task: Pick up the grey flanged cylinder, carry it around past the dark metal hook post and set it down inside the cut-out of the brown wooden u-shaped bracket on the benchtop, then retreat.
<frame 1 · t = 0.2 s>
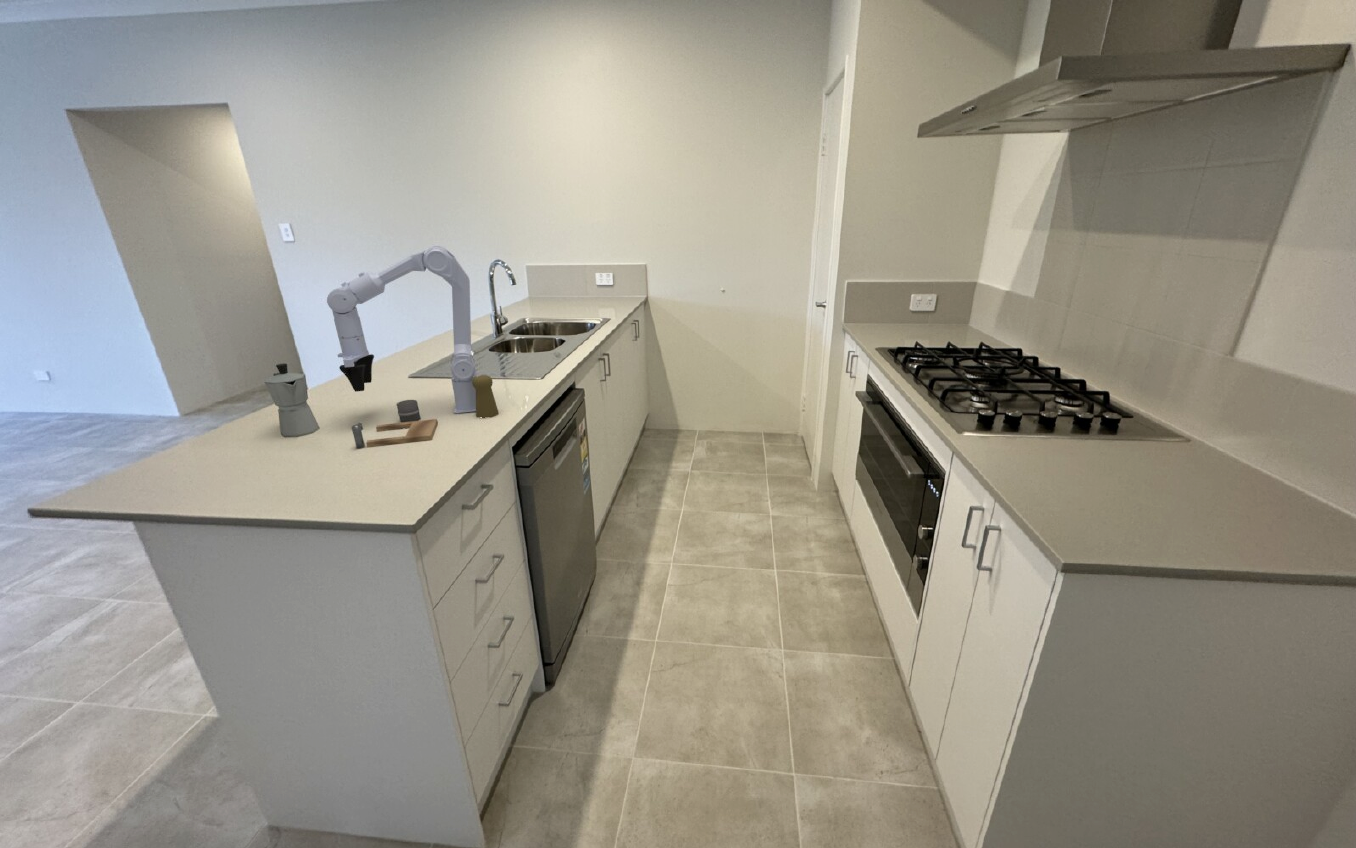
hand: (363, 386, 146), 10 cm above the worktop, tool pointing down, fingers open, 7 cm apart
coffee maker: (299, 430, 144), on the worktop
grey flanged cylinder: (410, 420, 150), on the worktop
hook: (360, 447, 133), on the worktop
olive pawn: (487, 415, 153), on the worktop
brown wooden u-shaped bracket: (407, 434, 140), on the worktop
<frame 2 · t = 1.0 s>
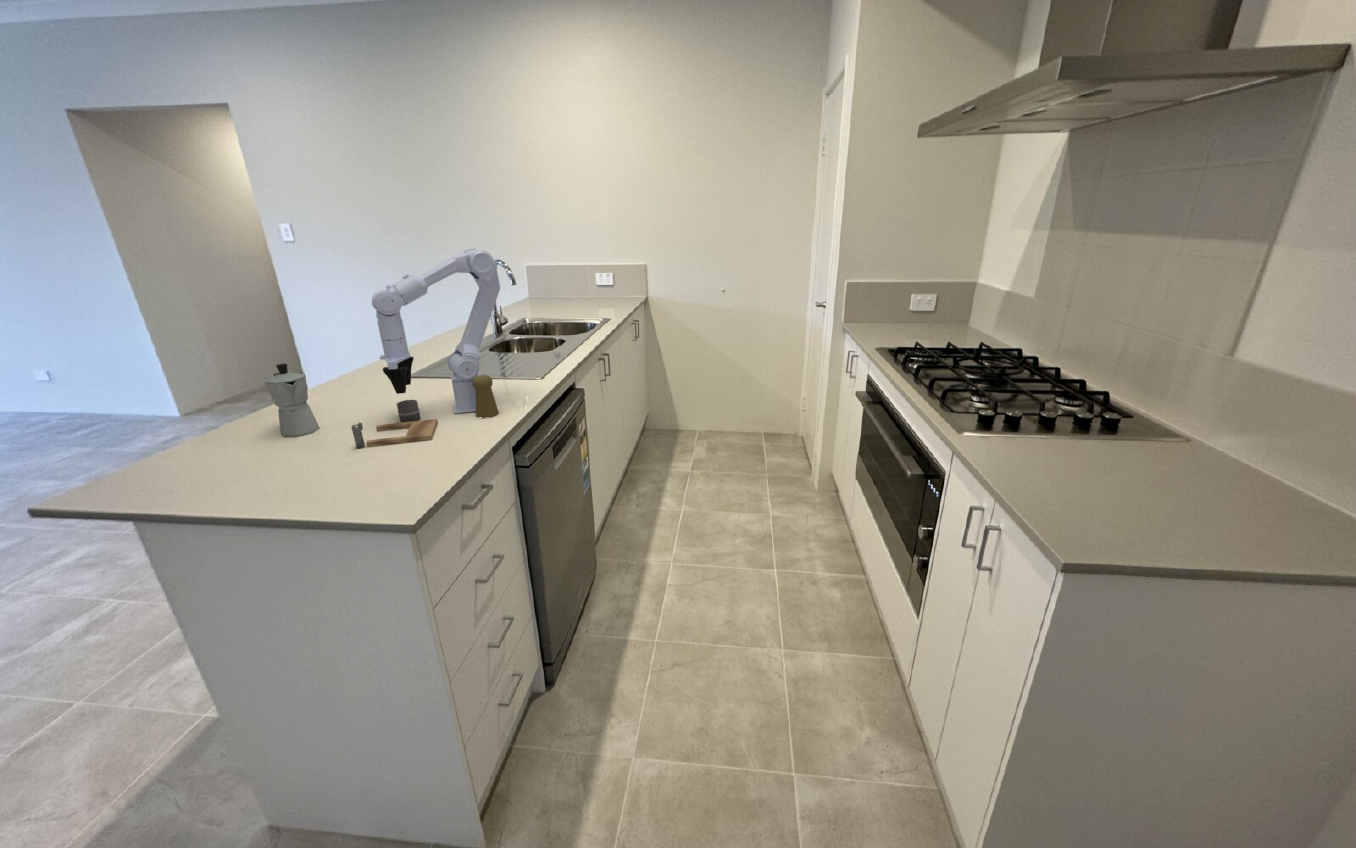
hand: (403, 388, 146), 9 cm above the worktop, tool pointing down, fingers open, 7 cm apart
nothing on the worktop moved.
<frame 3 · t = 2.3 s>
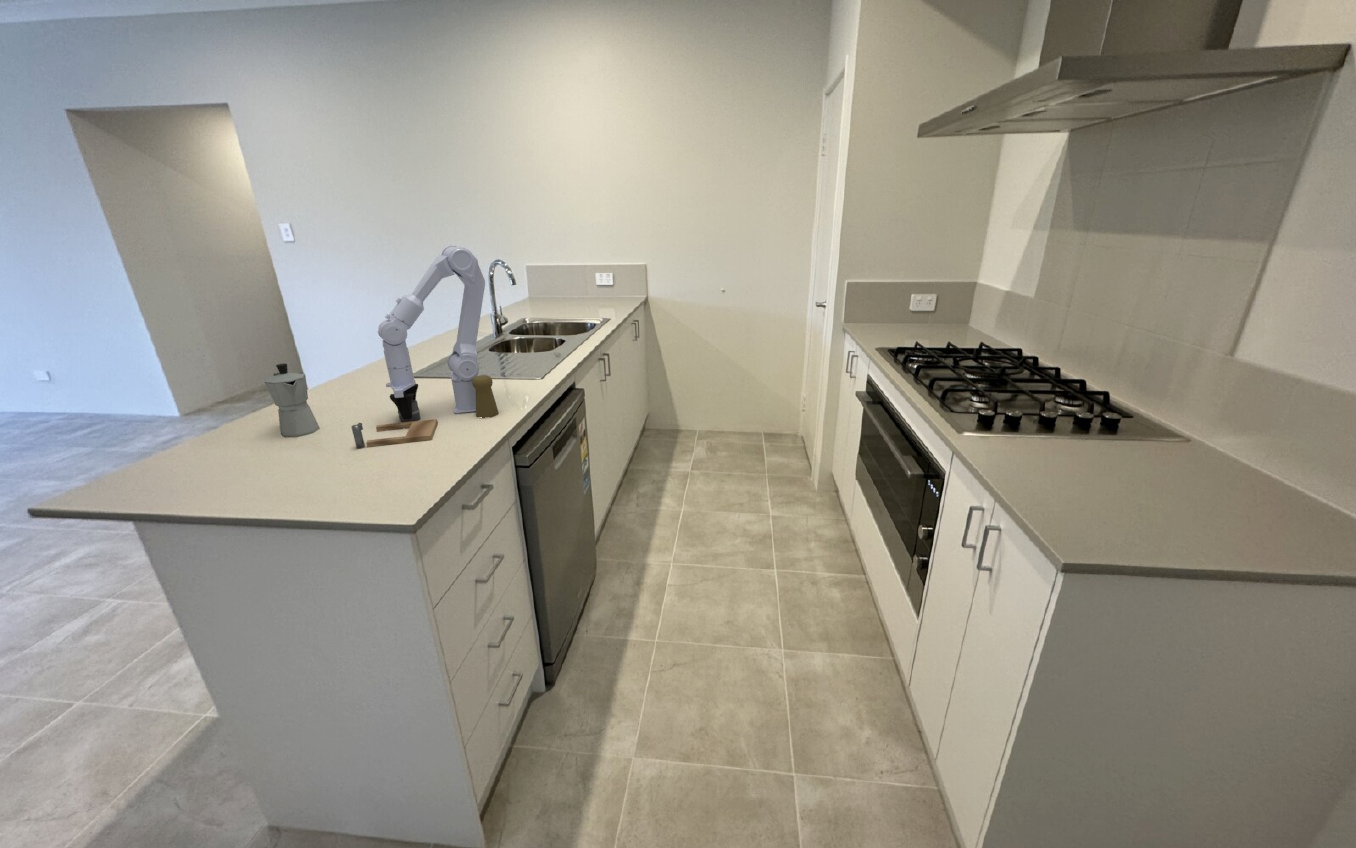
hand: (409, 415, 149), 1 cm above the worktop, tool pointing down, fingers closed on grey flanged cylinder, 5 cm apart
grey flanged cylinder: (410, 419, 150), on the worktop, touching gripper
everything else where it was.
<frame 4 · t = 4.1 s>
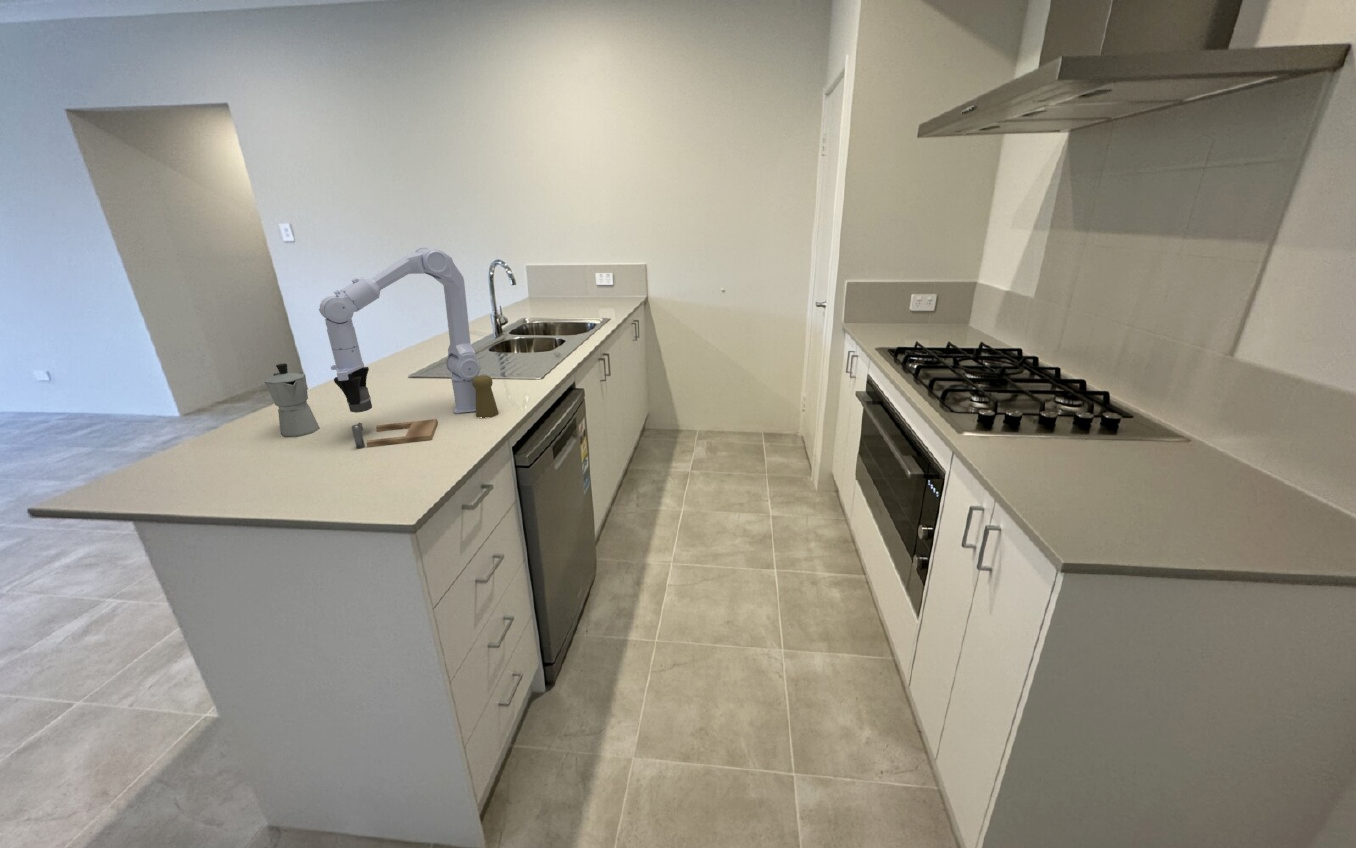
hand: (358, 400, 138), 9 cm above the worktop, tool pointing down, fingers closed on grey flanged cylinder, 5 cm apart
grey flanged cylinder: (361, 408, 139), point 7 cm above the worktop, touching gripper
everything else where it was.
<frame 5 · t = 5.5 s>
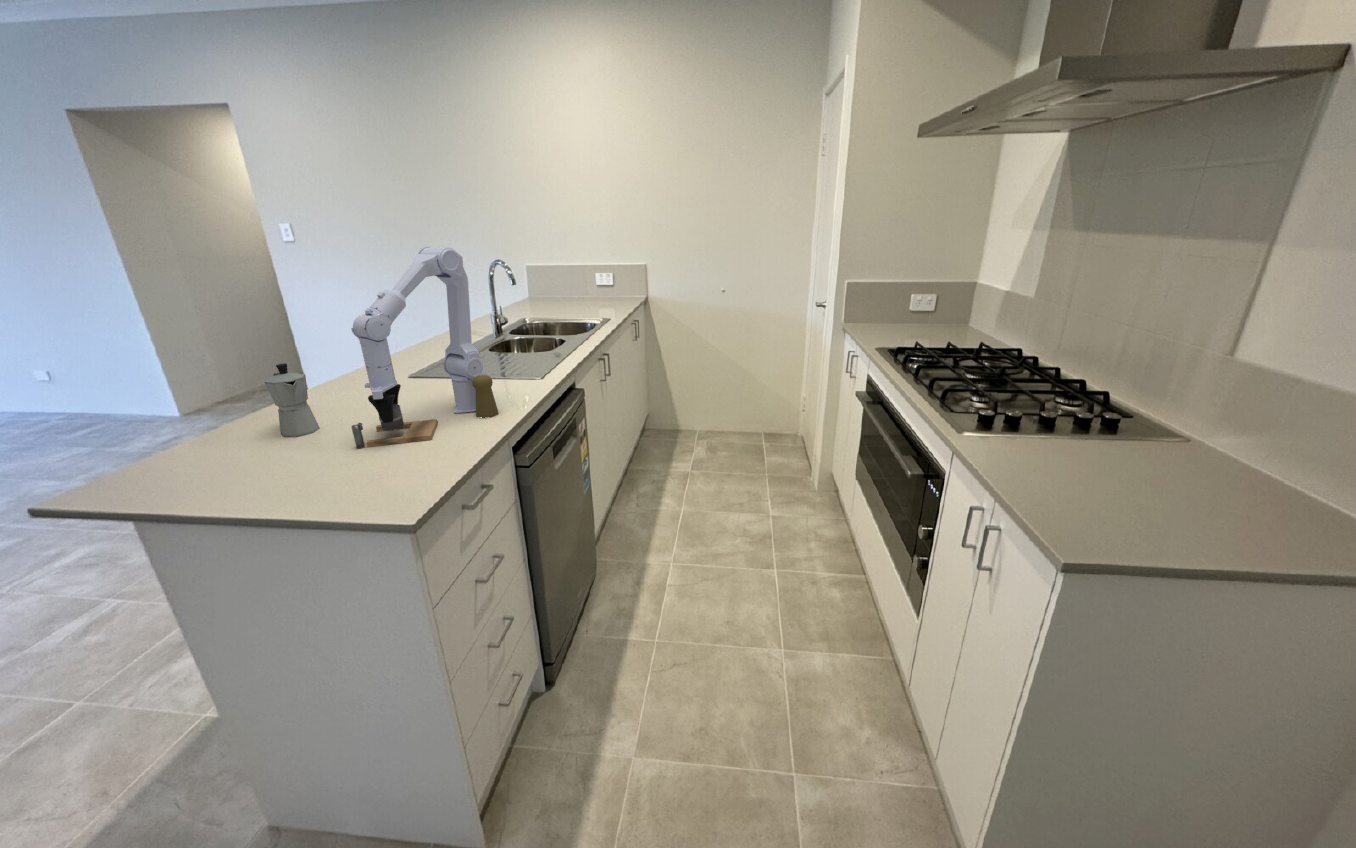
hand: (390, 418, 138), 5 cm above the worktop, tool pointing down, fingers closed on grey flanged cylinder, 5 cm apart
grey flanged cylinder: (392, 425, 139), point 3 cm above the worktop, touching gripper
everything else where it was.
when the fingers open (3 cm above the worktop, at t = 6.4 s): grey flanged cylinder stays where it is, on the worktop.
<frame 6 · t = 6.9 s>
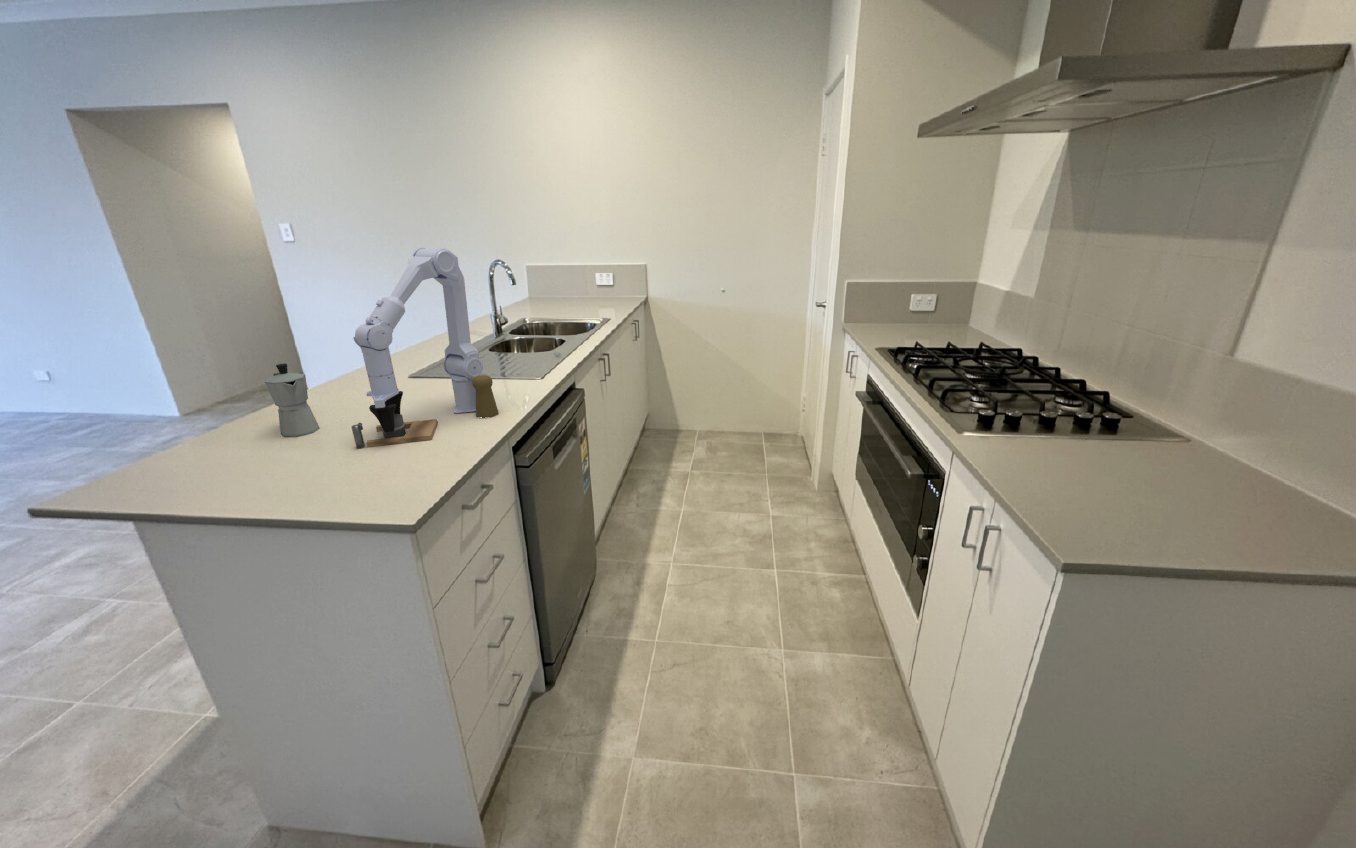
hand: (392, 426, 138), 3 cm above the worktop, tool pointing down, fingers open, 7 cm apart
grey flanged cylinder: (395, 435, 139), on the worktop
everything else where it was.
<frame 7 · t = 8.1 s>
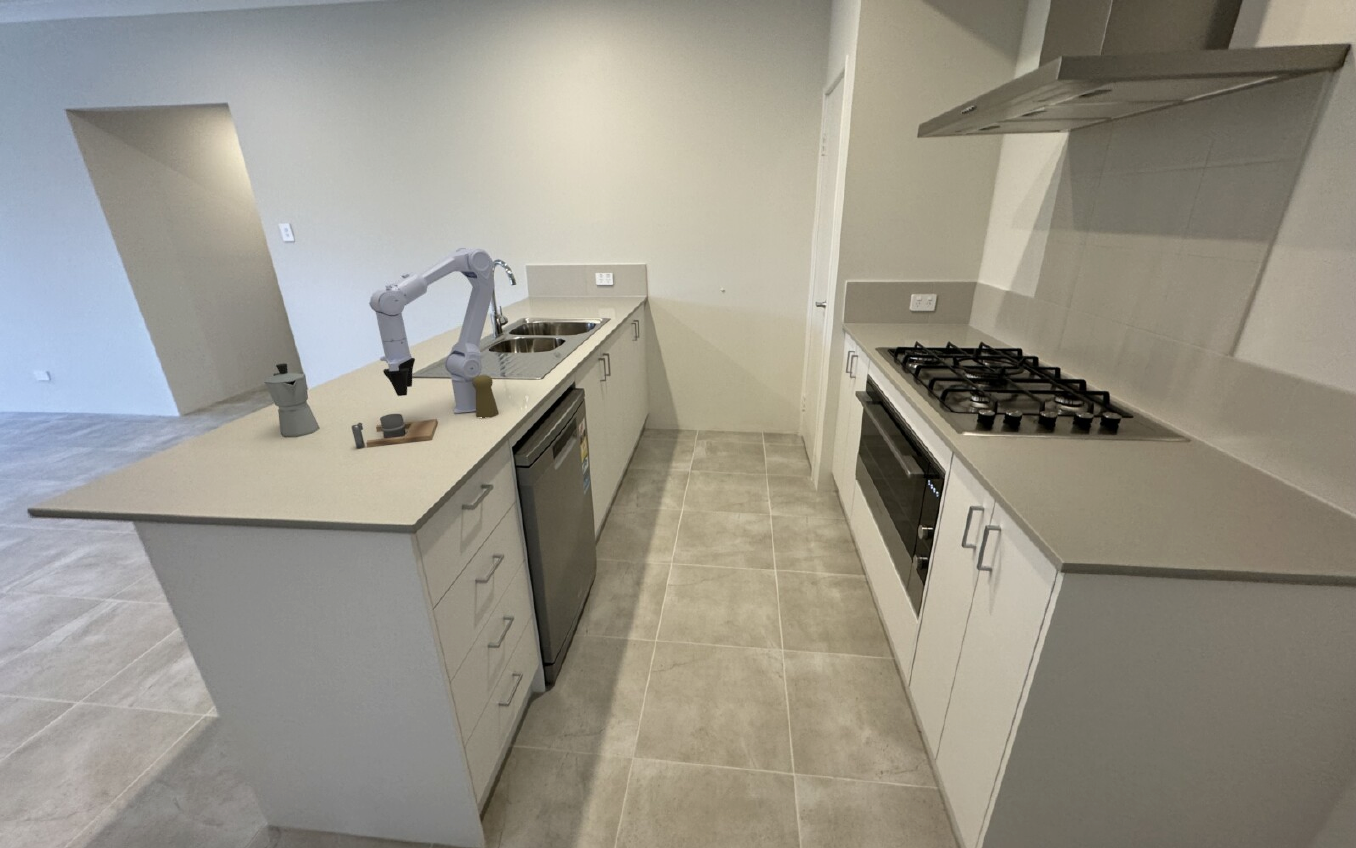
hand: (405, 390, 143), 9 cm above the worktop, tool pointing down, fingers open, 7 cm apart
nothing on the worktop moved.
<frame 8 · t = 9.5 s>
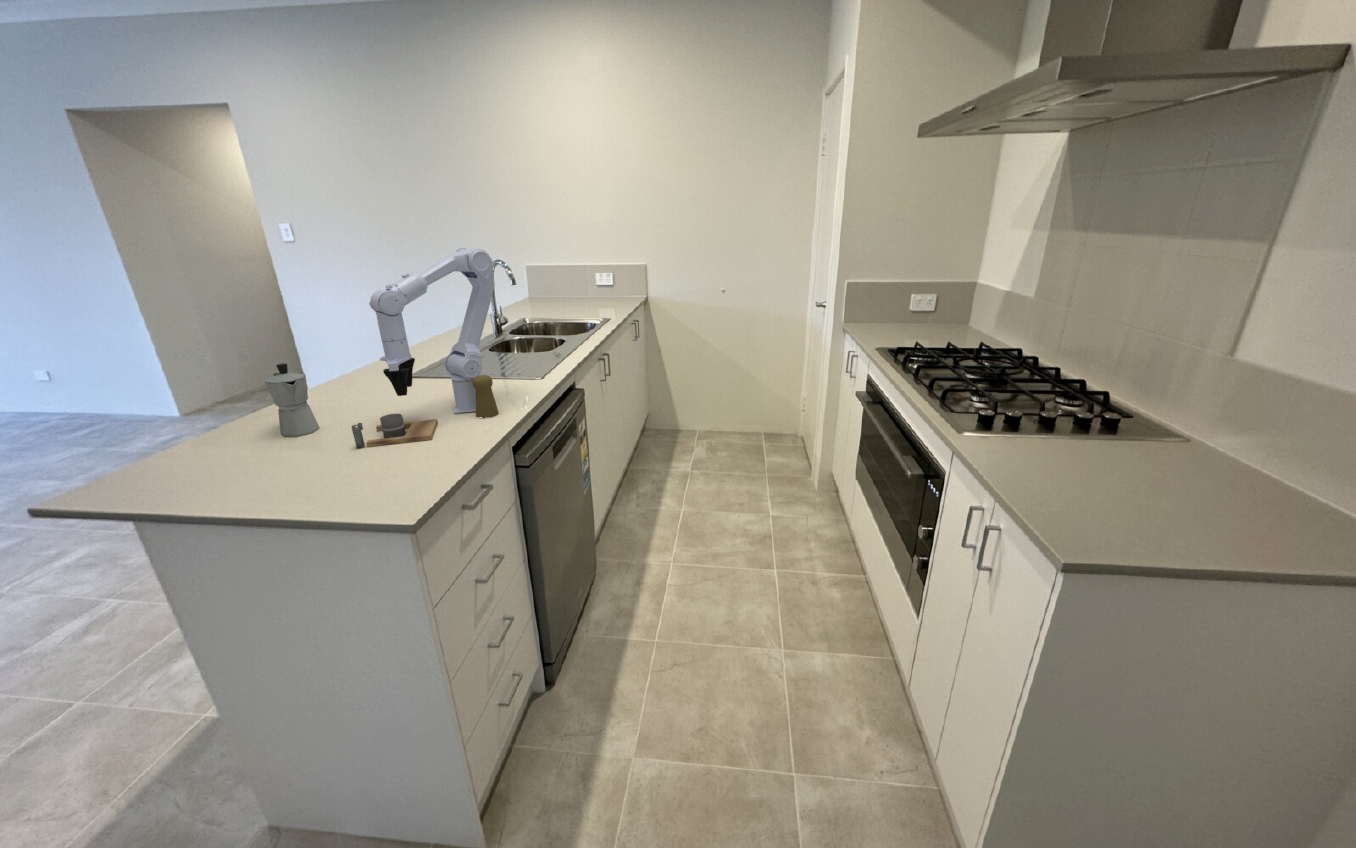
hand: (405, 390, 143), 9 cm above the worktop, tool pointing down, fingers open, 7 cm apart
nothing on the worktop moved.
at the end: grey flanged cylinder inside the target area (0.9 cm from its centre), on the worktop; grey flanged cylinder tilted 0°; the gripper is holding nothing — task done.
